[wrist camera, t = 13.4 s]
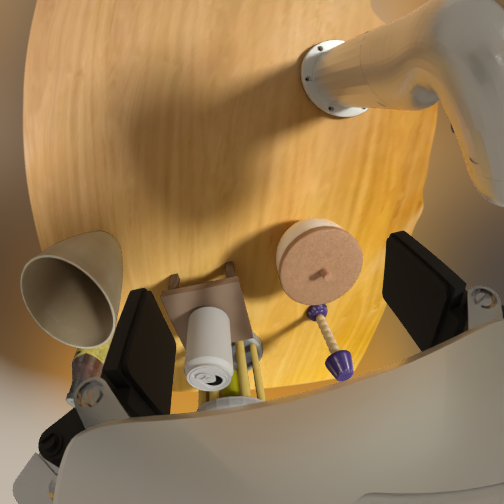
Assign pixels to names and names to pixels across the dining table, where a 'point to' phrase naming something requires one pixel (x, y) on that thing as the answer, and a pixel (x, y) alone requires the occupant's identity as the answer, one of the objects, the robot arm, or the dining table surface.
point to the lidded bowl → (317, 261)
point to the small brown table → (208, 304)
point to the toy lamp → (332, 346)
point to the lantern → (238, 378)
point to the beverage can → (208, 350)
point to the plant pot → (76, 289)
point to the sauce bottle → (87, 366)
